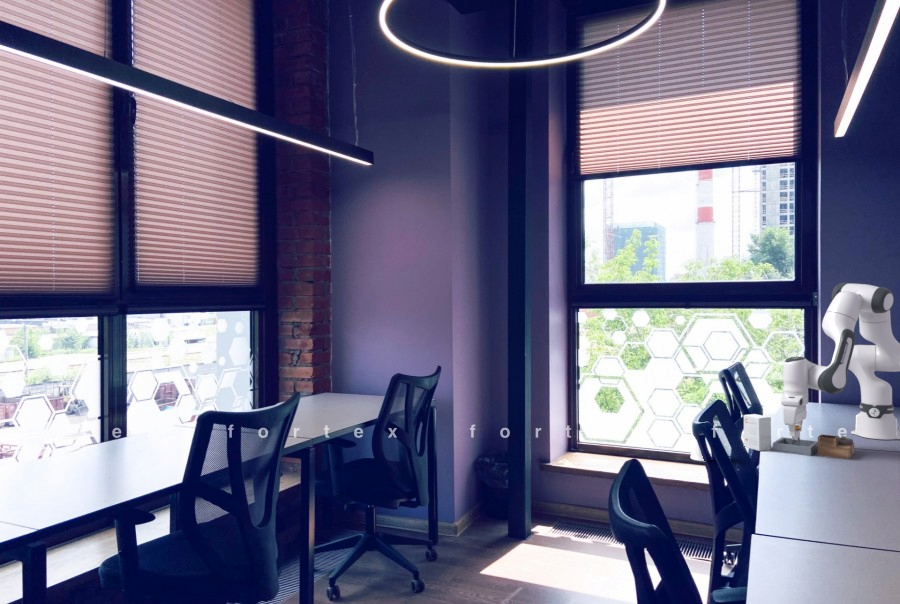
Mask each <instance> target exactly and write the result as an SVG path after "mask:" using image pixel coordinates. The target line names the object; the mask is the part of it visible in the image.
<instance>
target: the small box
mask: <svg viewBox="0 0 900 604" xmlns="http://www.w3.org/2000/svg"><path fill="white" fill-rule="evenodd" d="M771 418H772V417H771V416H766V415H763V414H756V413H752V414H743V447H744V446H745V447H744V448H746V449H751V450H755V451H758V452H762V451H764V452H765V451H770V450H772V419H771Z"/></svg>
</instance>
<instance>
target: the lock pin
mask: <svg viewBox="0 0 900 604" xmlns="http://www.w3.org/2000/svg"><path fill="white" fill-rule="evenodd" d="M795 431H796V435H795V436H791V438H792V445H797V446H800V439H801V431H800V426H799V425H795Z"/></svg>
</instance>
